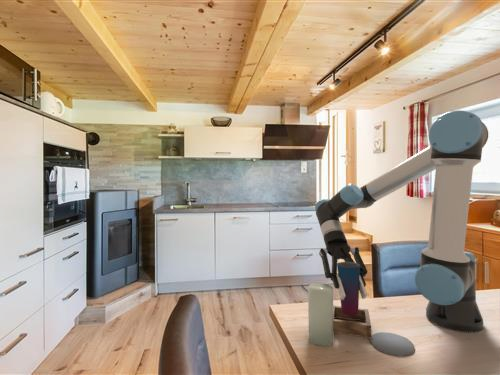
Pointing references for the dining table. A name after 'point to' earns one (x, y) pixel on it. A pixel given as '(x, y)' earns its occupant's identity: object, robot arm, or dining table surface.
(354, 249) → the robot arm
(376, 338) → the felt pad
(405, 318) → the dining table surface
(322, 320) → the pillar candle
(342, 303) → the cup
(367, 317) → the wooden tray box
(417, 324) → the dining table surface
